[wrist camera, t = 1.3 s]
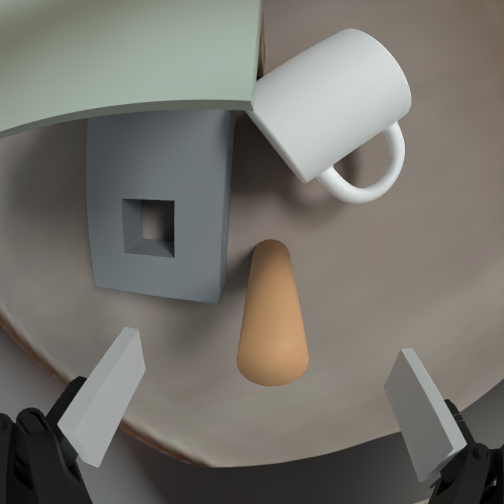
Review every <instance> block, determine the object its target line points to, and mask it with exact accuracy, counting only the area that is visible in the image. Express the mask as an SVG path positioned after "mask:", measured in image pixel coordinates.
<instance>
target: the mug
mask: <svg viewBox="0 0 504 504" xmlns="http://www.w3.org/2000/svg"><path fill="white" fill-rule="evenodd" d="M410 106H411V93H410V89H409V85H408V82H407V80H406V78H405V75H404V73H403V71H402V70H401V68H400V66H399V65H398V63H397V62H396V60H395V59H394V58H393V56H392V55H391V54H390V53H389V52H388V50H387V49H386V48H385V47H384V46H383V45H381V44H380V43H379V42H378V41H377V40H375V39H374V38H373V37H371V36H369V35H368V34H366V33H364V32H362V31H359V30H355V29H344V30H342V31H340V32H338V33H336V34H334V35H332V36H330V37H328V38H326V39H324V40H323V41H321V42H319V43H317V44H315V45H314V46H312V47H310V48H308V49H306V50H305V51H303V52H301V53H300V54H298V55H296V56H295V57H293V58H291V59H290V60H288V61H286V62H285V63H283V64H282V65H280V66H278V67H277V68H275V69H274V70H272V71H271V72H269V73H268V74H266V75H265V76H263V77H262V78H260V79H259V80H257V81H256V89H255V101H254V111H245V112H246V113H247V115H248V116H249V117H250V119H251V120H252V121H253V122H254V124H255V125H256V126H257V127H258V129H259V130H260V131H261V133H262V134H263V135H264V136H265V138H266V139H267V140H268V141H269V143H270V144H271V145H272V146H273V148H274V149H275V150H276V152H277V153H278V154H279V155H280V157H281V158H282V159H283V160H284V162H285V163H286V164H287V165H288V167H289V168H290V169H291V170H292V172H293V173H294V174H295V175H296V176H297V178H298V179H299V180H300V181H301V182H302V183H308V182H309V181H311V180H312V179H313V178H315V179H317V180H318V182H319V183H320V184H321V185H322V186H323V187H324V188H325V189H326V190H327V191H328V192H329V193H330V194H332V195H333V196H334V197H336V198H337V199H339V200H341V201H343V202H346V203H350V204H363V203H367V202H370V201H373V200H375V199H377V198H378V197H380V196H381V195H383V194H384V193H385V192H386V191H387V190H388V189H389V188H390V187H391V186H392V185H393V183H394V182H395V180H396V179H397V177H398V175H399V173H400V171H401V168H402V165H403V161H404V155H405V146H404V139H403V136H402V132H401V130H400V127H399V125H398V120H399V119H400V118H402V117H403V116H405V115H406V114H407V113H408V111H409V109H410ZM379 132H382V133H383V135H384V137H385V139H386V142H387V144H388V148H389V152H390V162H389V166H388V168H387V170H386V171H385V173H384V174H383V175H382V176H381V177H380V179H378V180H377V181H376V182H375V183H374V184H372V185H371V186H369V187H367V188H364V189H360V188H356V187H354V186H352V185H350V184H349V183H348V182H346V181H345V180H344V179H343V178H342V177H341V176H340V175H339V174H338V173H337V172H336V170H335V169H334V168H333V165H334V164H335V163H336V162H338V161H339V160H340V159H342V158H343V157H345V156H346V155H348V154H349V153H350V152H352V151H353V150H355V149H356V148H358V147H359V146H361V145H362V144H363V143H365V142H366V141H368V140H369V139H371V138H372V137H374V136H375V135H377V134H378V133H379Z"/></svg>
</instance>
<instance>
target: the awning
mask: <svg viewBox="0 0 504 504" xmlns="http://www.w3.org/2000/svg"><path fill="white" fill-rule="evenodd" d="M263 1H264V0H0V138H3V137H6V136H9V135H13V134H16V133H20V132H23V131H27V130H31V129H35V128H39V127H44V126H48V125H53V124H57V123H62V122H68V121H73V120H79V119H85V118H91V117H98V116H105V115H113V114H122V113H132V112H144V111H160V110H189V109H214V110H243V111H254V101H255V89H256V78H257V77H263V74H264V62H265V43H264V17H263Z"/></svg>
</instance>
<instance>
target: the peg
mask: <svg viewBox="0 0 504 504" xmlns="http://www.w3.org/2000/svg"><path fill="white" fill-rule="evenodd" d="M308 362H309V357H308V351H307V345H306V339H305V334H304V328H303V322H302V317H301V311H300V306H299V301H298V296H297V290H296V285H295V280H294V275H293V270H292V265H291V260H290V255H289V251H288V249H287V247H286V246H285V245H284V244H283V243H281V242H280V241H277V240H265V241H262V242H260V243H259V244H258V245H257V246H256V247H255V249H254V251H253V254H252V260H251V267H250V274H249V280H248V287H247V294H246V301H245V307H244V314H243V321H242V327H241V334H240V341H239V347H238V354H237V366H238V369H239V371H240V372H241V373H242V375H243V376H244V377H245V378H247V379H248V380H250V381H252V382H254V383H256V384H259V385H264V386H280V385H285V384H288V383H290V382H292V381H294V380H296V379H298V378H299V377H300V376H301V375H302V374H303V373H304V372H305V370H306V368H307V366H308Z"/></svg>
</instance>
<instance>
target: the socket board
mask: <svg viewBox="0 0 504 504" xmlns="http://www.w3.org/2000/svg"><path fill="white" fill-rule="evenodd" d="M236 111H237V110H214V109H189V110H160V111H144V112H132V113H122V114H113V115H105V116H98V117H91V118H88V122H87V137H86V205H87V221H88V233H89V244H90V252H91V261H92V268H93V275H94V281H95V286H97V287H102V288H108V289H114V290H120V291H126V292H132V293H139V294H145V295H152V296H159V297H166V298H174V299H181V300H189V301H197V302H206V303H215V304H219V303H220V299H221V296H222V293H223V290H224V287H225V283H226V264H227V243H228V225H229V208H230V192H231V177H232V162H233V148H234V135H235V123H236ZM142 199H150V200H172V201H175V212H174V241H163V240H151V239H143V231H142Z"/></svg>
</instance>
